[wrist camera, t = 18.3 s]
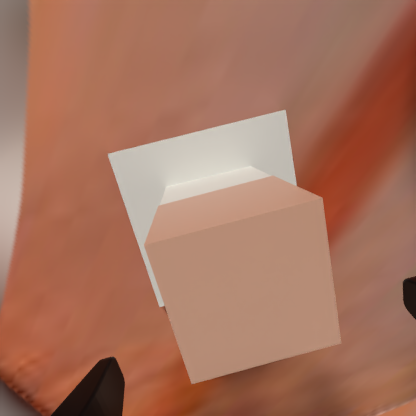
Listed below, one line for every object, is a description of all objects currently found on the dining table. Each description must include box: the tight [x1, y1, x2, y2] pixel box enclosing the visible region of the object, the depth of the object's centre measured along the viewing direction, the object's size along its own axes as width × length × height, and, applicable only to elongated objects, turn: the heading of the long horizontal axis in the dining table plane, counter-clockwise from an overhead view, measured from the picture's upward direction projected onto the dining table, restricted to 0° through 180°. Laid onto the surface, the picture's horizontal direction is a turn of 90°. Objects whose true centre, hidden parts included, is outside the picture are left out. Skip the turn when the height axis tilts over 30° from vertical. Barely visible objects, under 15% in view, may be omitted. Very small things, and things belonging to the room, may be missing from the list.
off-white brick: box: [160, 166, 271, 205], centre depth 17 cm, size 6×6×5 cm
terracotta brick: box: [144, 176, 341, 384], centre depth 12 cm, size 6×6×5 cm
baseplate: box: [108, 110, 297, 307], centre depth 20 cm, size 12×12×2 cm
